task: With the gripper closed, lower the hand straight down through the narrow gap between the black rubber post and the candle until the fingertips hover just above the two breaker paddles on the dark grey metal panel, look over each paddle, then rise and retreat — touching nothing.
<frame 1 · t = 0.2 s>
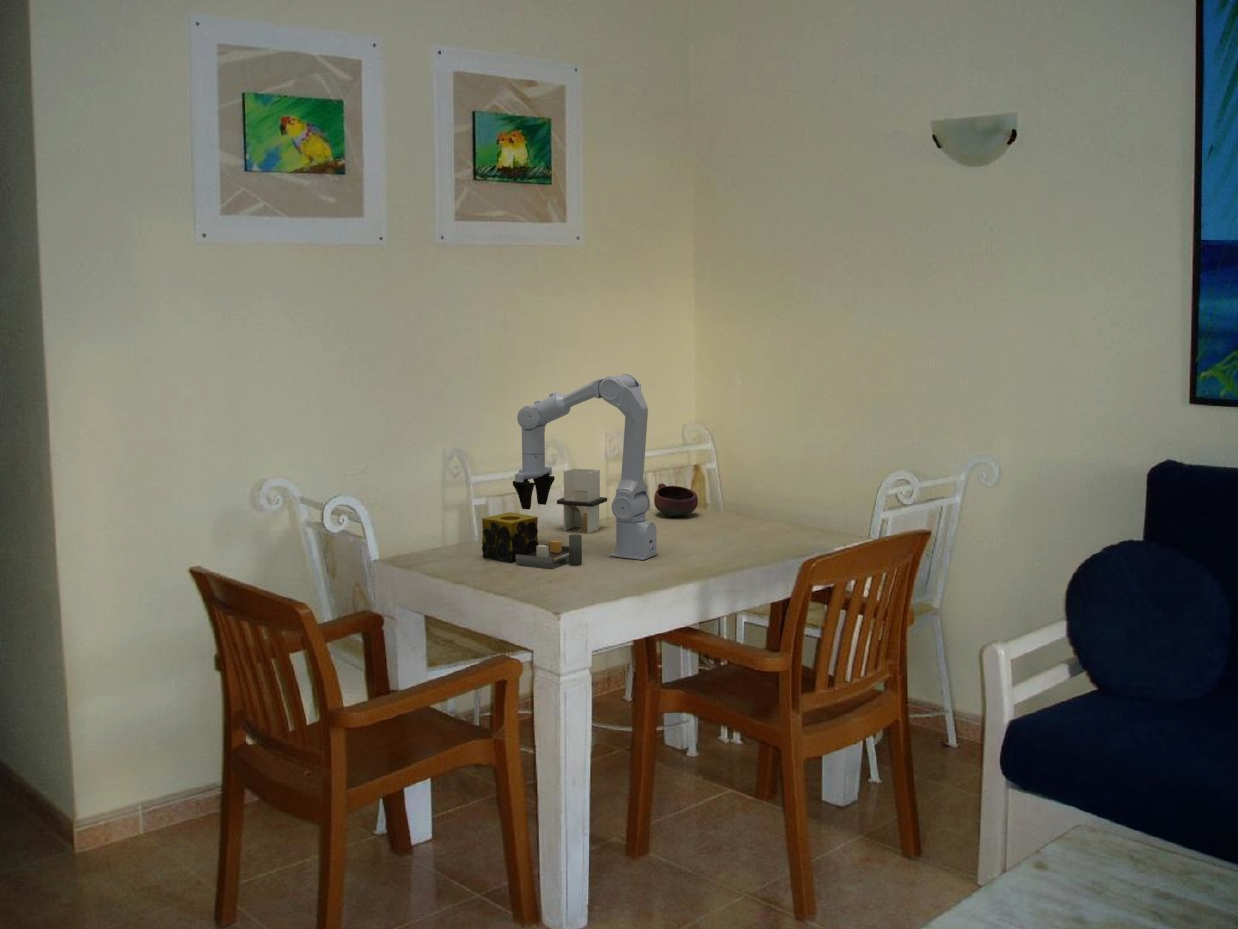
hand: (534, 506, 324), 10 cm above the table, fingers open, 7 cm apart
candle: (510, 558, 312), on the table
paddle orange: (555, 546, 309), point 3 cm above the table, hinge at 0.0°
bowl: (671, 516, 368), on the table
post: (575, 564, 304), on the table
paddle white: (542, 551, 304), point 3 cm above the table, hinge at 0.0°
model fireplace: (581, 531, 346), on the table
panel: (549, 561, 307), on the table
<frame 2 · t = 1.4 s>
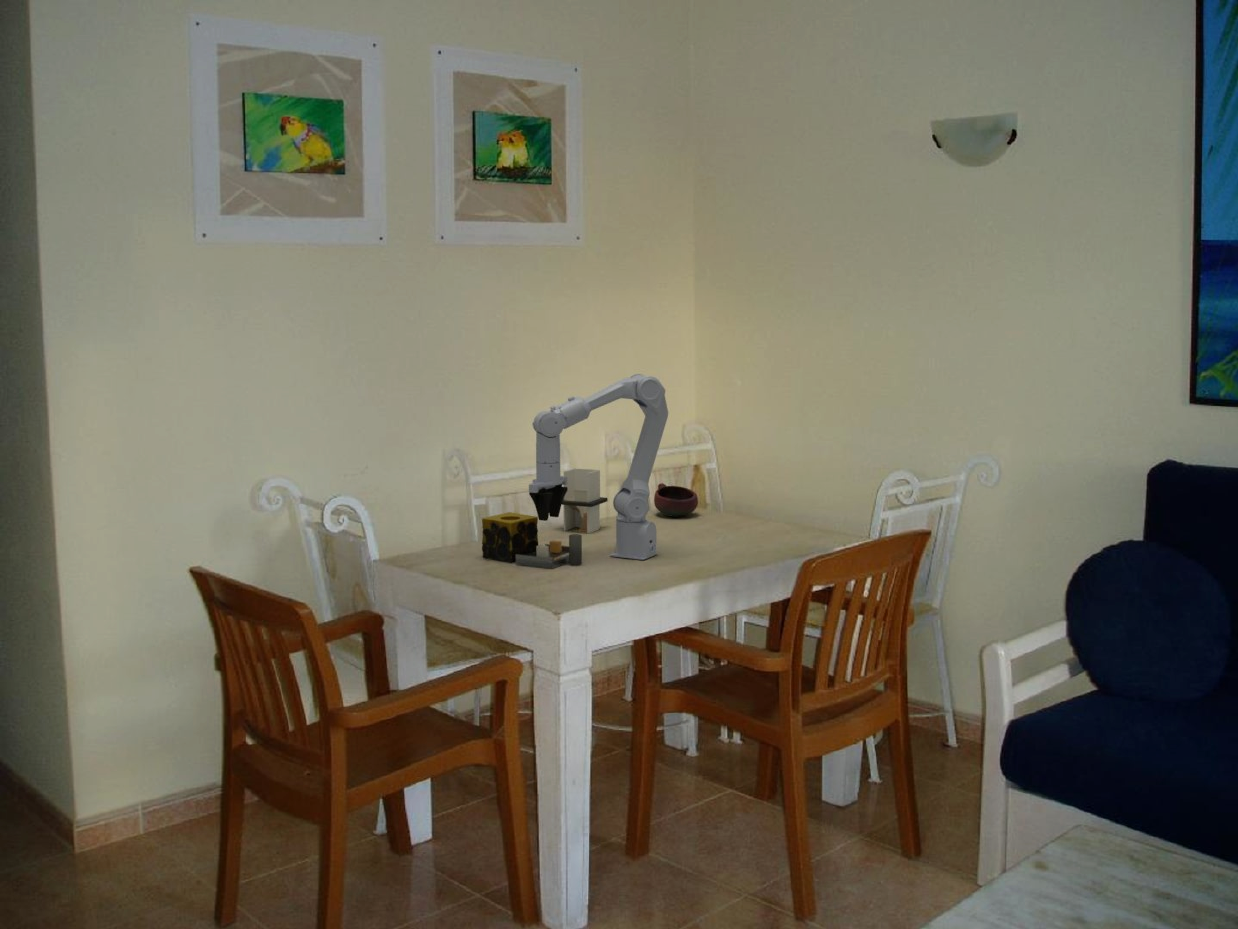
hand: (548, 518, 306), 10 cm above the table, fingers open, 4 cm apart
nothing on the table moved.
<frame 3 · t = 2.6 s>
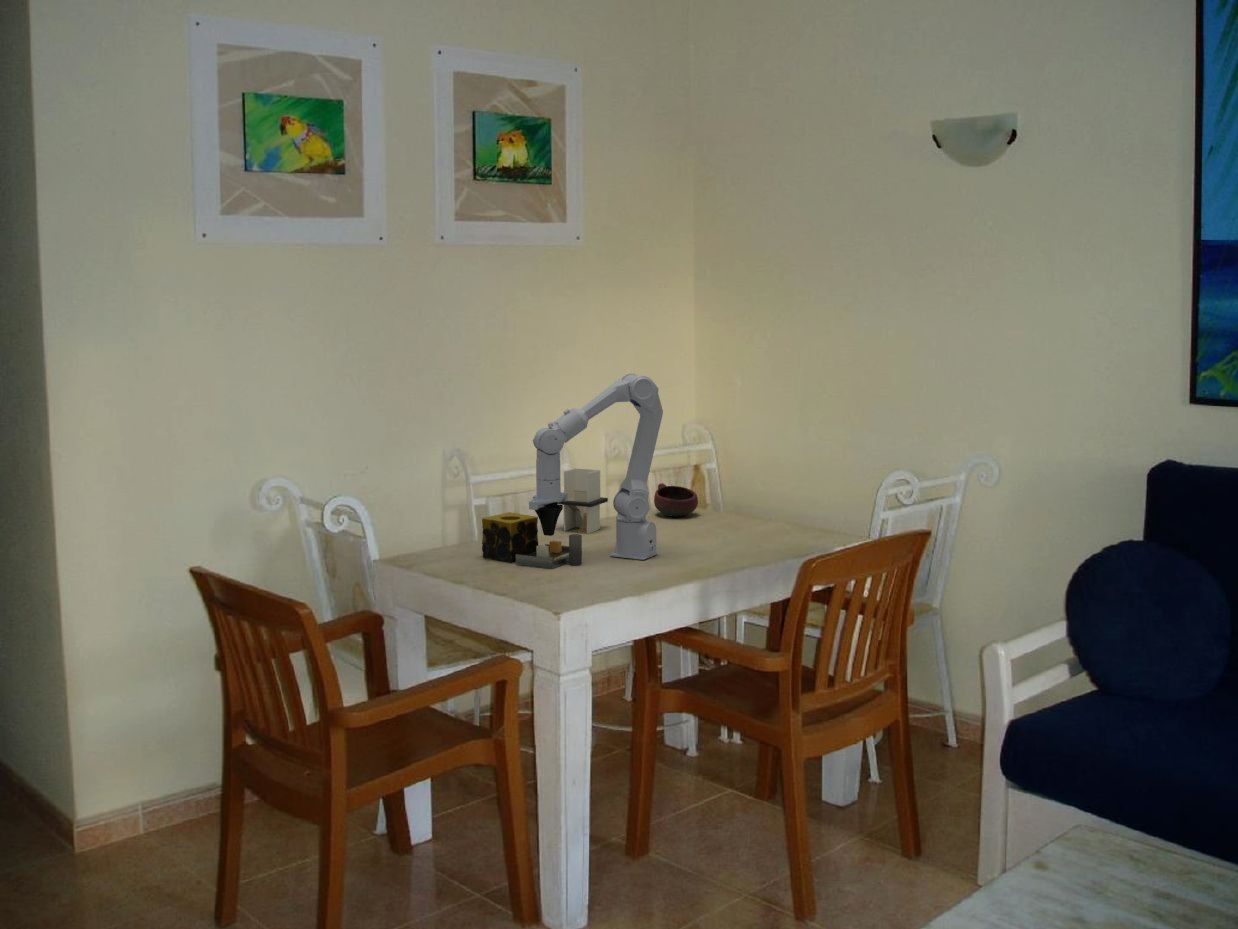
hand: (548, 535, 306), 6 cm above the table, fingers closed
nothing on the table moved.
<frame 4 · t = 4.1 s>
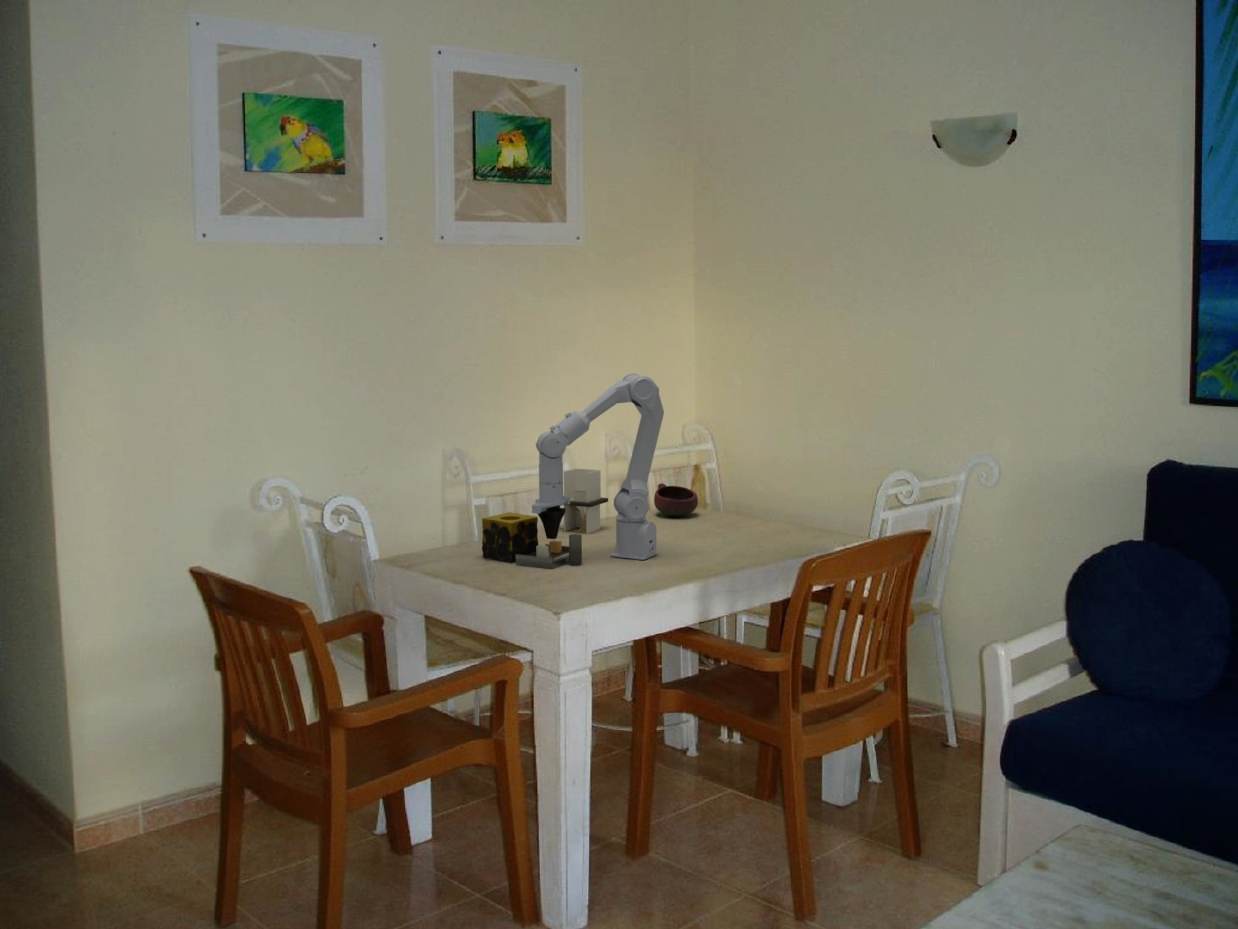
hand: (551, 538, 307), 5 cm above the table, fingers closed
nothing on the table moved.
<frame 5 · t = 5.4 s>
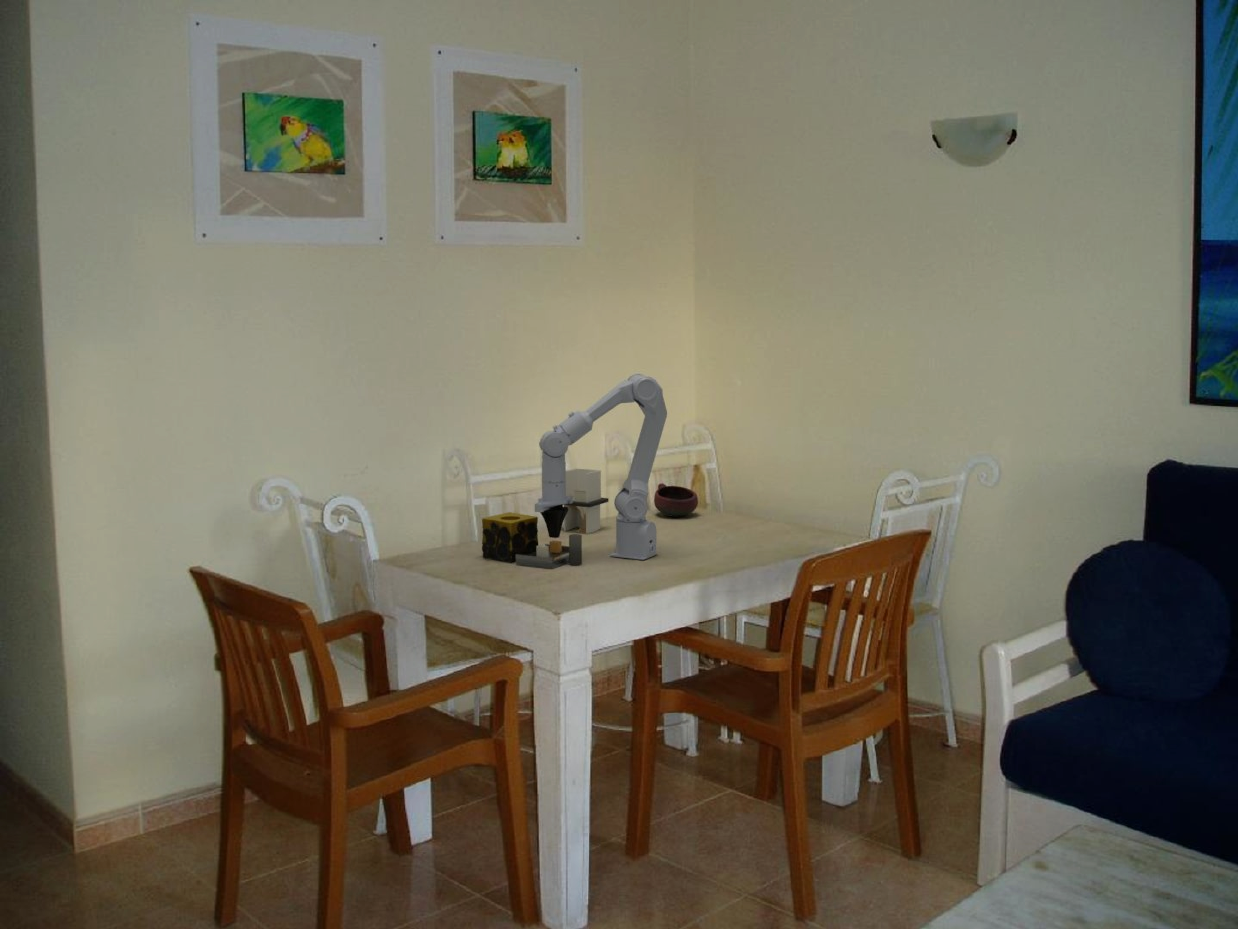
hand: (554, 537, 308), 5 cm above the table, fingers closed
nothing on the table moved.
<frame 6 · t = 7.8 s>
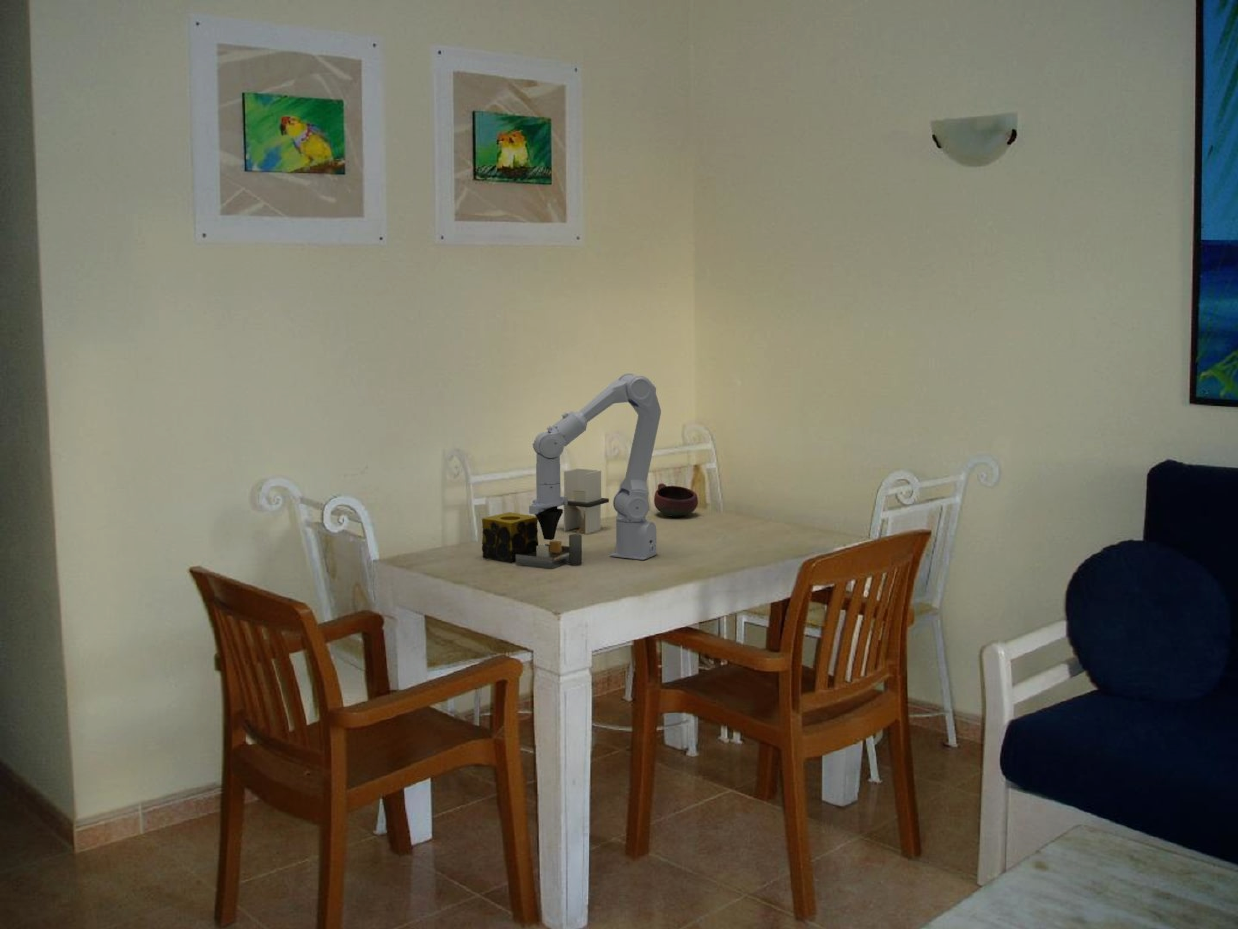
hand: (549, 539, 306), 5 cm above the table, fingers closed
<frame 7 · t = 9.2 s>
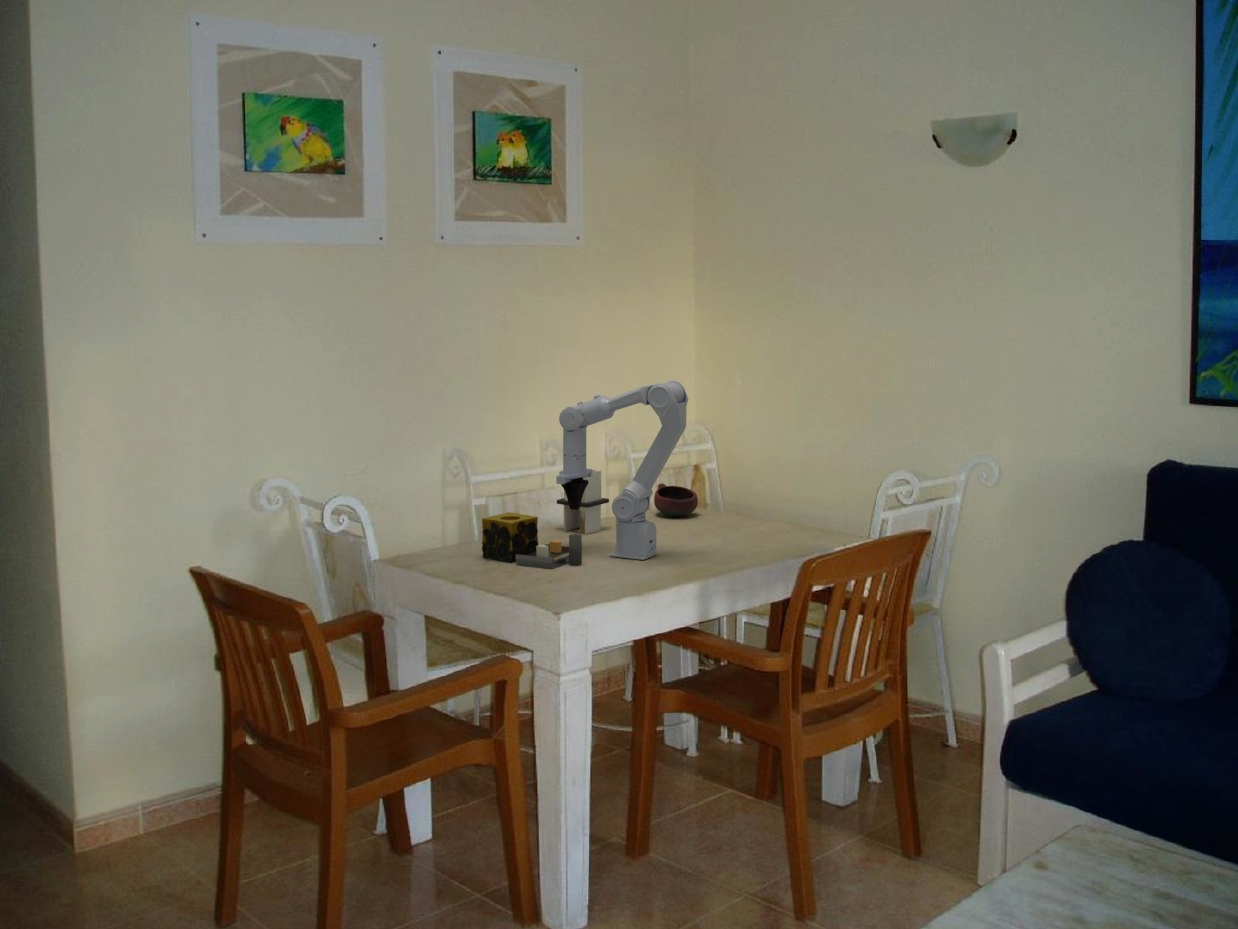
hand: (574, 509, 318), 10 cm above the table, fingers closed
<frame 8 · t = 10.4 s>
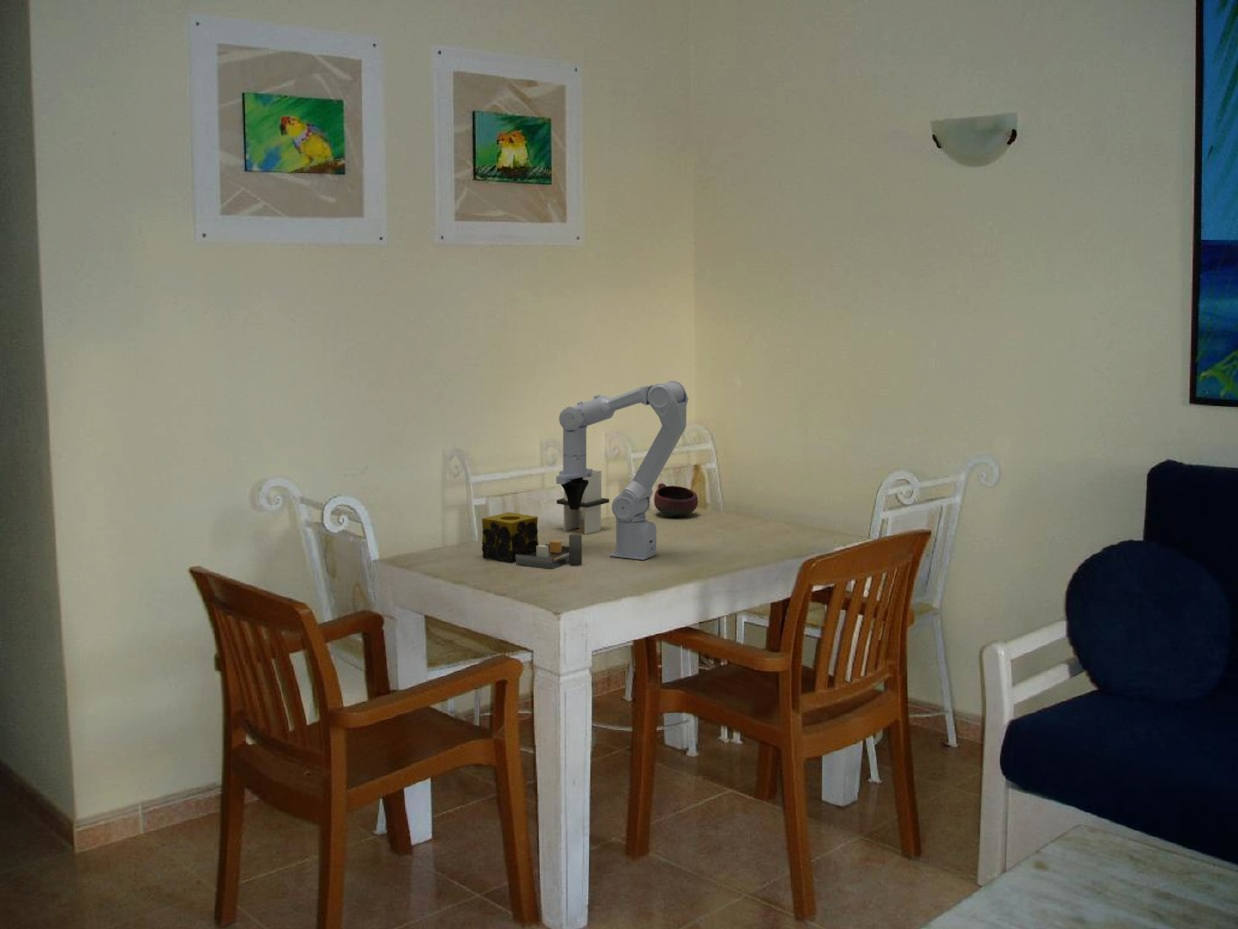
hand: (574, 509, 318), 10 cm above the table, fingers closed
at the end: candle moved 0.4 cm from its start; post moved 0.0 cm from its start; paddle orange at +0° (first picture: +0°) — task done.
